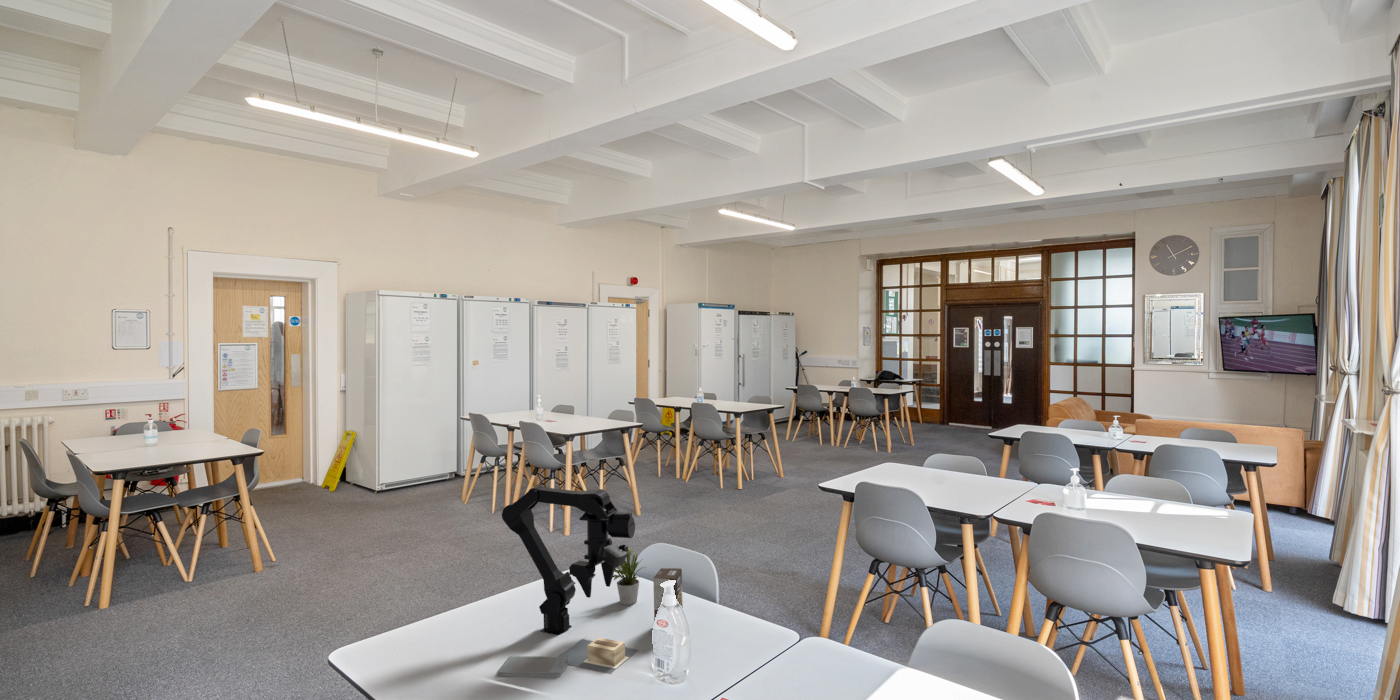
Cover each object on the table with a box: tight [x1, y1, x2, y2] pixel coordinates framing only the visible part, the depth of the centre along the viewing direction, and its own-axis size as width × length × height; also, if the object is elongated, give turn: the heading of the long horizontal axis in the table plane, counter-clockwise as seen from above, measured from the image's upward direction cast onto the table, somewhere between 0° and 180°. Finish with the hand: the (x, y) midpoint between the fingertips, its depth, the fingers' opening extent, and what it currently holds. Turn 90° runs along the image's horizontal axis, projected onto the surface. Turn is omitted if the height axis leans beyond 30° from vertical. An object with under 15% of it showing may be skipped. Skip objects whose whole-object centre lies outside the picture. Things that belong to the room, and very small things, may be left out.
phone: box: [496, 655, 569, 679], centre depth 168 cm, size 8×16×1 cm, turn 83°
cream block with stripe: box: [587, 636, 626, 667], centre depth 172 cm, size 8×5×4 cm, turn 65°
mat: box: [556, 638, 640, 675], centre depth 174 cm, size 18×14×1 cm
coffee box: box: [653, 567, 684, 621], centre depth 190 cm, size 9×6×16 cm
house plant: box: [613, 547, 647, 606], centre depth 213 cm, size 14×14×16 cm
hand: (598, 591), depth 189 cm, fingers open, 9 cm apart
